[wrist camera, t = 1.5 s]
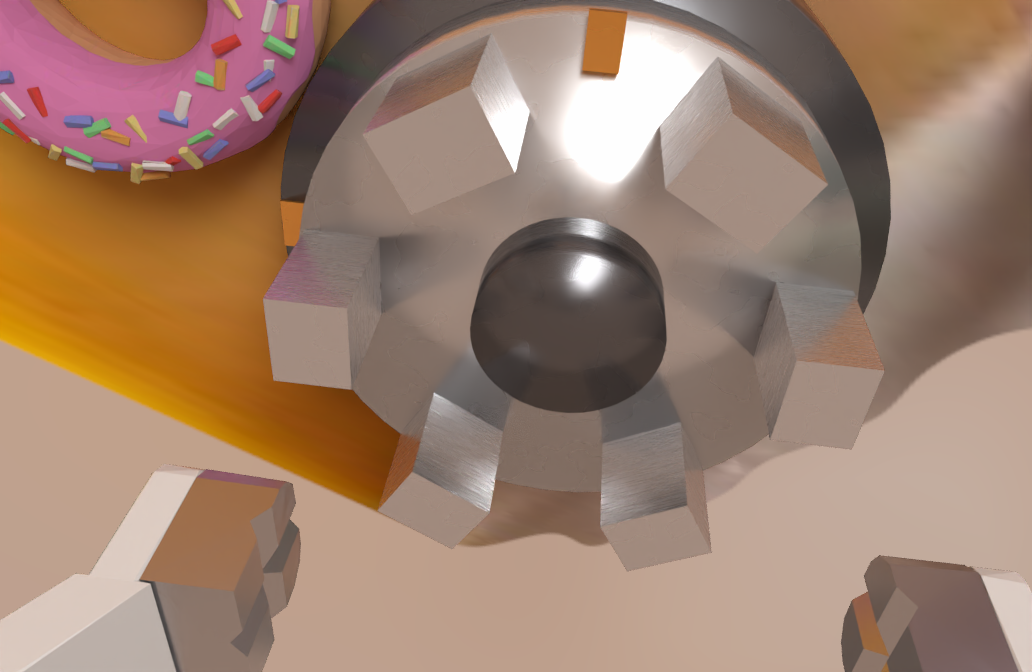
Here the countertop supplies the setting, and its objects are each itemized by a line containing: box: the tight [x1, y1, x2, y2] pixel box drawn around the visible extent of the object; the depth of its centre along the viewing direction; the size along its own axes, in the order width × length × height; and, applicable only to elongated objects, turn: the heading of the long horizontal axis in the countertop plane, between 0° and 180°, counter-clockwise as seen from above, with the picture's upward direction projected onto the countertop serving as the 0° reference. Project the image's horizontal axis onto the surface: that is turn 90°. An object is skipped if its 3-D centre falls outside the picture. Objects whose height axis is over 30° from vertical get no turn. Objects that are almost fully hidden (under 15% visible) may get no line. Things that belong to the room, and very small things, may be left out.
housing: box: [280, 0, 891, 314], centre depth 32 cm, size 21×21×4 cm
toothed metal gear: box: [263, 0, 885, 571], centre depth 27 cm, size 18×18×6 cm
